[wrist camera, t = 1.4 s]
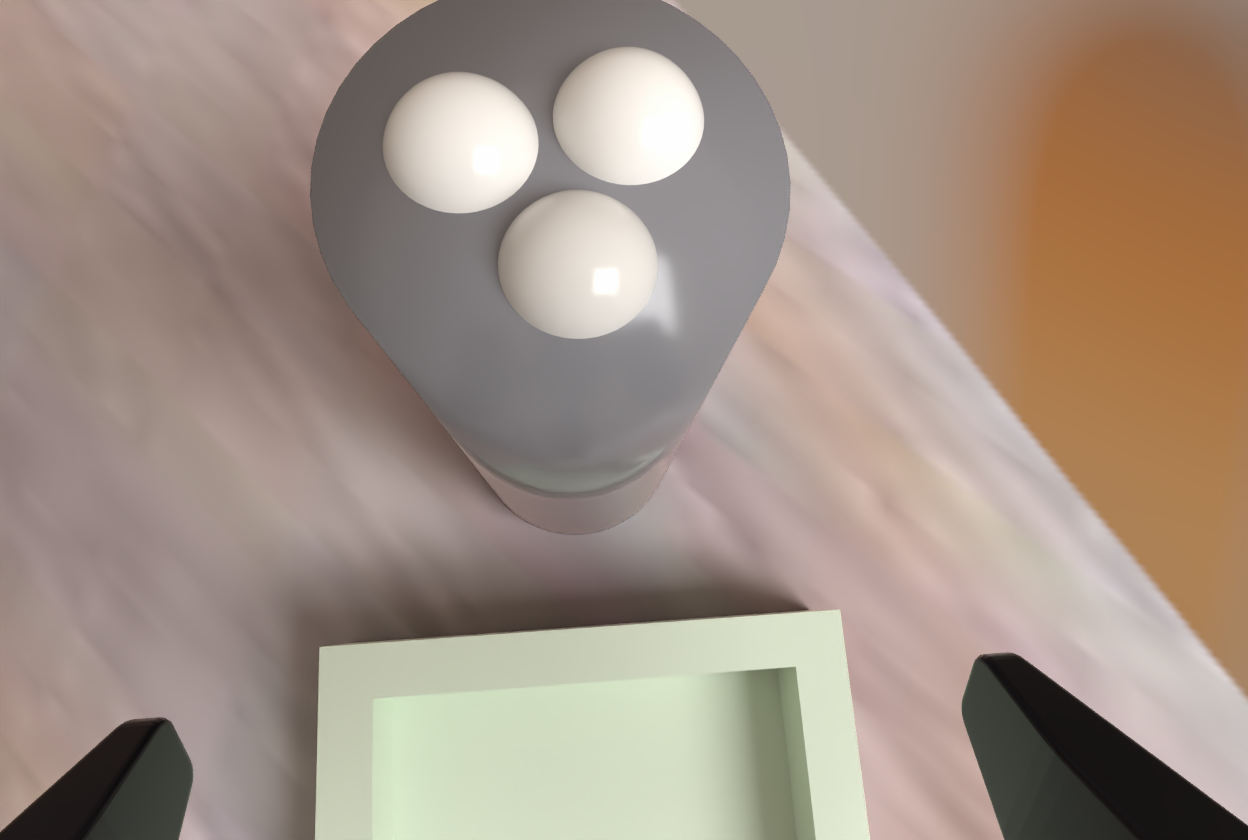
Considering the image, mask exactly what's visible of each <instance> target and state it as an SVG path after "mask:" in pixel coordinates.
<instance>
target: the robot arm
mask: <svg viewBox="0 0 1248 840" xmlns="http://www.w3.org/2000/svg"><path fill="white" fill-rule="evenodd" d="M962 716H963V720H964V724H965V727H966V730H967V733H968V735H969V738H970V741H971V744H972V747H973V750H974V753H975V756H976V759H977V762H978V765H979V767H980V770H981V773H982V776H983V779H984V782H985V785H986V788H987V791H988V794H989V797H990V799H991V802H992V805H993V808H994V811H995V814H996V817H997V820H998V823H999V826H1000V829H1001V831H1002V834H1003V837H1004V840H1248V825H1246V824H1245V823H1244V822H1242V821H1241V820H1240V819H1238V818H1237V817H1236V816H1234V815H1233V814H1232V813H1230V812H1229V811H1228V810H1226V809H1225V808H1224V807H1222V806H1221V805H1220V804H1218V803H1217V802H1216V801H1214V800H1213V799H1212V798H1210V797H1209V796H1208V795H1206V794H1205V793H1204V792H1202V791H1201V790H1200V789H1198V788H1197V787H1195V786H1194V785H1193V784H1191V783H1190V782H1189V781H1187V780H1186V779H1185V778H1183V777H1182V776H1181V775H1179V774H1178V773H1177V772H1175V771H1174V770H1173V769H1171V768H1170V767H1169V766H1167V765H1166V764H1165V763H1163V762H1162V761H1161V760H1159V759H1158V758H1157V757H1155V756H1154V755H1153V754H1151V753H1150V752H1148V751H1147V750H1146V749H1144V748H1143V747H1142V746H1140V745H1139V744H1138V743H1136V742H1135V741H1134V740H1132V739H1131V738H1130V737H1128V736H1127V735H1126V734H1124V733H1123V732H1122V731H1120V730H1119V729H1118V728H1116V727H1115V726H1114V725H1112V724H1111V723H1110V722H1108V721H1107V720H1106V719H1104V718H1103V717H1101V716H1100V715H1099V714H1097V713H1096V712H1095V711H1093V710H1092V709H1091V708H1089V707H1088V706H1087V705H1085V704H1084V703H1083V702H1081V701H1080V700H1079V699H1077V698H1076V697H1075V696H1073V695H1072V694H1071V693H1069V692H1068V691H1067V690H1065V689H1064V688H1063V687H1061V686H1060V685H1059V684H1057V683H1056V682H1055V681H1053V680H1052V679H1050V678H1049V677H1048V676H1046V675H1045V674H1044V673H1042V672H1041V671H1040V670H1038V669H1037V668H1036V667H1034V666H1033V665H1032V664H1030V663H1029V662H1028V661H1026V660H1025V659H1024V658H1022V657H1021V656H1019V655H1017V654H1014V653H1007V652H1006V653H993V654H983V655H980V656H979V657H978V658H977V659H976V660H975V662H974V664H973V667H972V670H971V674H970V677H969V680H968V683H967V686H966V689H965V693H964V696H963V699H962ZM192 782H193V768H192V763H191V760H190V758H189V756H188V754H187V752H186V750H185V748H184V746H183V744H182V742H181V740H180V738H179V736H178V734H177V732H176V730H175V728H174V726H173V724H172V723H171V721H169V720H167V719H166V718H162V717H158V718H145V719H134V720H129V721H126V722H124V723H123V724H121V725H120V726H118V727H117V728H116V729H115V730H113V731H112V732H111V733H110V734H109V735H108V736H107V737H106V738H105V739H103V740H102V741H101V742H100V743H99V744H98V745H97V746H96V747H95V748H93V749H92V750H91V751H90V752H89V753H88V754H87V755H86V756H84V757H83V758H82V759H81V760H80V761H79V762H78V763H77V764H76V765H74V766H73V767H72V768H71V769H70V770H69V771H68V772H67V773H66V774H64V775H63V776H62V777H61V778H60V779H59V780H58V781H57V782H56V783H54V784H53V785H52V786H51V787H50V788H49V789H48V790H47V791H45V792H44V793H43V794H42V795H41V796H40V797H39V798H38V799H37V800H35V801H34V802H33V803H32V804H31V805H30V806H29V807H28V808H27V809H25V810H24V811H23V812H22V813H21V814H20V815H19V816H18V817H17V818H15V819H14V820H13V821H12V822H11V823H10V824H9V825H8V826H6V827H5V828H4V829H3V830H2V831H1V832H0V840H179V836H180V832H181V828H182V824H183V820H184V816H185V812H186V808H187V804H188V800H189V795H190V791H191V787H192Z"/></svg>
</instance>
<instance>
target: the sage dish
mask: <svg viewBox="0 0 1248 840" xmlns="http://www.w3.org/2000/svg"><path fill="white" fill-rule="evenodd" d="M315 840H870V835H869V828H868V820H867V812H866V805H865V797H864V789H863V782H862V774H861V767H860V759H859V751H858V744H857V736H856V728H855V721H854V713H853V705H852V698H851V690H850V682H849V675H848V667H847V659H846V652H845V644H844V636H843V629H842V621H841V613H840V610H803V611H789V612H775V613H761V614H747V615H733V616H719V617H705V618H691V619H677V620H663V621H650V622H636V623H622V624H608V625H594V626H580V627H566V628H552V629H538V630H524V631H510V632H496V633H482V634H468V635H454V636H440V637H427V638H413V639H399V640H385V641H371V642H357V643H347V644H339V645H331V646H324V647H319V687H318V731H317V774H316V817H315Z"/></svg>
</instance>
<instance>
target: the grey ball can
mask: <svg viewBox="0 0 1248 840" xmlns="http://www.w3.org/2000/svg"><path fill="white" fill-rule="evenodd" d="M310 198H311V208H312V217H313V225H314V229H315V233H316V237H317V241H318V245H319V248H320V252H321V255H322V257H323V259H324V262H325V264H326V267H327V269H328V271H329V274H330V276H331V278H332V280H333V282H334V284H335V285H336V287H337V289H338V290H339V292H340V294H341V295H342V297H343V298H344V300H345V302H346V303H347V305H348V306H349V308H350V309H351V310H352V312H353V313H354V314H355V315H356V317H357V318H358V319H359V320H360V322H361V323H362V324H363V325H364V327H365V328H366V329H367V331H368V332H369V333H370V334H371V336H372V337H373V338H374V339H375V341H376V342H377V343H378V344H379V346H380V347H381V348H382V350H383V351H384V352H385V353H386V355H387V356H388V357H389V358H390V360H391V361H392V362H393V363H394V365H395V366H396V367H397V369H398V370H399V371H400V372H401V374H402V375H403V376H404V377H405V379H406V380H407V381H408V382H409V384H410V385H411V386H412V387H413V389H414V390H415V391H416V393H417V394H418V395H419V396H420V398H421V399H422V400H423V401H424V403H425V404H426V405H427V406H428V408H429V409H430V410H431V412H432V413H433V414H434V415H435V417H436V418H437V419H438V420H439V422H440V423H441V424H442V425H443V427H444V428H445V429H446V431H447V432H448V433H449V434H450V436H451V437H452V438H453V439H454V441H455V442H456V443H457V444H458V446H459V447H460V448H461V450H462V451H463V452H464V453H465V455H466V456H467V457H468V458H469V460H470V461H471V462H472V463H473V465H474V466H475V467H476V468H477V470H478V471H479V472H480V474H481V475H482V476H483V477H484V479H485V480H486V481H487V482H488V484H489V485H490V486H491V487H492V489H493V490H494V491H495V493H496V494H497V495H498V496H499V498H500V499H501V500H502V501H503V502H504V504H505V505H506V506H507V507H508V508H509V509H510V510H511V511H513V512H514V513H515V514H516V515H517V516H519V517H520V518H522V519H523V520H525V521H526V522H528V523H530V524H532V525H534V526H536V527H538V528H541V529H544V530H547V531H550V532H555V533H559V534H569V535H580V534H590V533H595V532H600V531H603V530H606V529H609V528H612V527H614V526H616V525H618V524H620V523H622V522H624V521H625V520H627V519H628V518H630V517H631V516H633V515H634V514H635V513H636V512H637V511H639V510H640V509H641V508H642V507H643V506H644V505H645V504H646V502H647V501H648V500H649V499H650V498H651V496H652V495H653V493H654V492H655V490H656V489H657V487H658V485H659V484H660V482H661V480H662V478H663V476H664V474H665V472H666V471H667V469H668V467H669V465H670V463H671V461H672V459H673V458H674V456H675V454H676V452H677V450H678V448H679V446H680V445H681V443H682V441H683V439H684V437H685V435H686V433H687V431H688V430H689V428H690V426H691V424H692V422H693V420H694V418H695V417H696V415H697V413H698V411H699V409H700V407H701V405H702V404H703V402H704V400H705V398H706V396H707V394H708V392H709V391H710V389H711V387H712V385H713V383H714V381H715V379H716V378H717V376H718V374H719V372H720V370H721V368H722V366H723V365H724V363H725V361H726V359H727V357H728V355H729V353H730V351H731V350H732V348H733V346H734V344H735V342H736V340H737V338H738V337H739V335H740V333H741V331H742V329H743V327H744V325H745V324H746V322H747V320H748V318H749V316H750V314H751V312H752V311H753V309H754V307H755V305H756V303H757V301H758V299H759V298H760V296H761V294H762V292H763V290H764V288H765V286H766V284H767V282H768V280H769V278H770V276H771V274H772V272H773V270H774V268H775V266H776V263H777V260H778V257H779V254H780V251H781V248H782V245H783V242H784V239H785V234H786V228H787V222H788V216H789V211H790V175H789V167H788V158H787V153H786V149H785V145H784V141H783V138H782V134H781V130H780V127H779V125H778V122H777V120H776V117H775V115H774V113H773V110H772V108H771V106H770V103H769V101H768V100H767V98H766V96H765V95H764V93H763V91H762V90H761V88H760V86H759V84H758V83H757V81H756V79H755V78H754V77H753V75H752V74H751V73H750V72H749V70H748V69H747V68H746V67H745V65H744V64H743V63H742V61H741V60H740V59H739V57H738V56H737V55H736V54H735V53H734V52H733V51H732V50H731V49H730V48H729V47H728V46H727V45H726V44H725V43H723V41H722V40H720V39H719V38H718V37H717V36H716V35H715V34H713V33H712V32H711V31H710V30H708V29H707V28H706V27H704V26H703V25H702V24H701V23H699V22H698V21H697V20H695V19H694V18H692V17H690V16H689V15H687V14H685V13H684V12H682V11H680V10H679V9H677V8H675V7H674V6H672V5H670V4H668V3H666V2H663V1H661V0H438V1H436V2H434V3H432V4H430V5H428V6H426V7H424V8H422V9H420V10H419V11H417V12H416V13H414V14H413V15H411V16H409V17H408V18H406V19H405V20H403V21H402V22H400V23H399V24H397V25H396V26H395V27H394V28H392V29H391V30H390V31H389V32H388V33H386V34H385V35H384V36H383V37H382V38H380V39H379V40H378V41H377V42H376V43H375V44H374V45H373V46H372V47H371V48H370V49H369V50H368V51H367V52H366V53H365V54H364V56H363V57H362V58H361V59H360V60H359V61H358V62H357V63H356V64H355V66H354V67H353V69H352V70H351V71H350V73H349V74H348V76H347V77H346V78H345V80H344V81H343V83H342V84H341V86H340V87H339V89H338V91H337V93H336V95H335V97H334V98H333V100H332V102H331V104H330V106H329V108H328V110H327V112H326V115H325V117H324V120H323V123H322V126H321V129H320V132H319V135H318V138H317V141H316V146H315V152H314V157H313V162H312V167H311V189H310Z"/></svg>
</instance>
